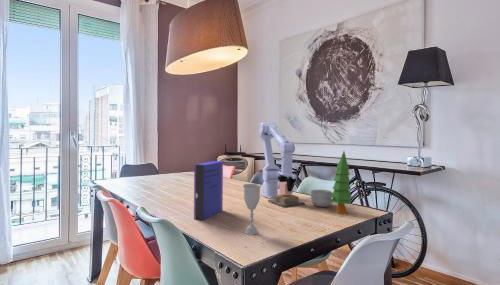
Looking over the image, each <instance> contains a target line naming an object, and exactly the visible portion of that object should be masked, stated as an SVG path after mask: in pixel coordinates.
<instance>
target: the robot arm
mask: <svg viewBox="0 0 500 285" xmlns="http://www.w3.org/2000/svg"><path fill="white" fill-rule="evenodd" d="M258 133H259V137H260V139H261V141H262V148H263V154H264V159H265V160H264V161H265V166H264V167H263V169H262V179H263V183H262V185H261V187H262V193H260V196H262V197H266V198H268V199H275V195H279V193H278V192H279V191H278V190H279V182H284V181H286V182H287V189H288V191H292V190H293V188H294V187H293V186H294V184H295V182H296V181H297V179H298V175H297V174H295V173H293V156H294V155H293V154H294V153H295V151H296V146H295V144H294V142H291V141H289V140H288V139H287V138H286V136H285V135H284V134H281V132H280V131H279V130H278V125H277V123H276V122H260V123H259V125H258ZM272 139H275V143H276V144H277V145H278V147H279V152H280V157H281V171H280V167H279V166H278V165H277V164H275V158H274V152H273V146H272V142H271V141H272Z"/></svg>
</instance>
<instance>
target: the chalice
mask: <svg viewBox="0 0 500 285" xmlns="http://www.w3.org/2000/svg"><path fill="white" fill-rule="evenodd" d="M242 187H243V188H244V189H243V199H244V202H245V205H246V207H247V209H248V210H250V214H249V216H250V218H249V221H250V222H249V223H250V224H249V225H248V226H247V227H246V229H245V232H244V233H245V234H246V235H257V234H258V233H259V231H258V228H257V226H255V224H254V220H255V219H254V215H255V214H254V210H256V208H257V206H258V205H259V202H260V198H261V187H262V185H261V184H259V183H246V184H243V185H242Z"/></svg>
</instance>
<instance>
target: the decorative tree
mask: <svg viewBox="0 0 500 285" xmlns="http://www.w3.org/2000/svg"><path fill="white" fill-rule="evenodd" d="M346 156H347V155H346V152H345V151H343V152H342V154H341V157H340V159H339V162H338V163H337V166H336V170H335V173H334V175H335V177H334V180H333V181H334V185H333V187H332V190H333V191H332V196H331V198H332V202H333V203H335V204H337V207H336V208H335V210H334V213H336V214H339V215H341V214H342V215H346V214H348V212H347V208H346V205H349V204H350V203H351V204H352V201H351V198H352V194H351V192H350V191H349V190H352V189H351V186H350V182H351V180H350V175H351V174H350V172H349V169H350V167H349V165H348V162H347V157H346Z"/></svg>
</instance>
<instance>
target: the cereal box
mask: <svg viewBox="0 0 500 285" xmlns="http://www.w3.org/2000/svg"><path fill="white" fill-rule="evenodd" d="M193 167H194V168H193V171H194V172H193V174H194V175H193V176H194V177H193V183H194V184H193V188H194V189H193V193H194V194H193V219H194V220H198V221H205V220H207V219H209V218H211V217H213V216H215V215H217V214H219V213H221V212H222V211H223V207H224V206H223V201H224V200H223V194H224V192H223V187H224V186H223V185H224V179H223V178H224V177H223V176H224V161H222V160H214V161H206V162H201V163H195V164H194V166H193Z"/></svg>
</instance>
